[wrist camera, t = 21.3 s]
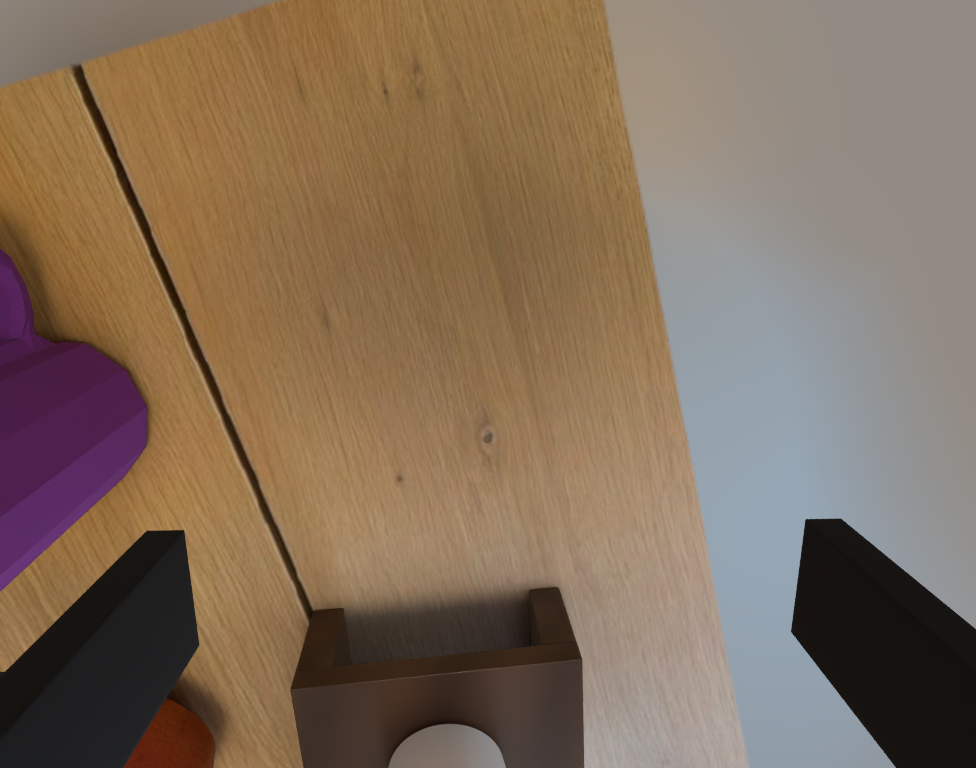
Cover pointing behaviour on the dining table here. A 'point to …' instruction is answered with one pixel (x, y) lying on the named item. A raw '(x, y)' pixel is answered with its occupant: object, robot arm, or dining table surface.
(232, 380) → the dining table surface
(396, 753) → the cup
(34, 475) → the mug
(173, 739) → the fruit
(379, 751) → the shelf stand
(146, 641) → the robot arm
